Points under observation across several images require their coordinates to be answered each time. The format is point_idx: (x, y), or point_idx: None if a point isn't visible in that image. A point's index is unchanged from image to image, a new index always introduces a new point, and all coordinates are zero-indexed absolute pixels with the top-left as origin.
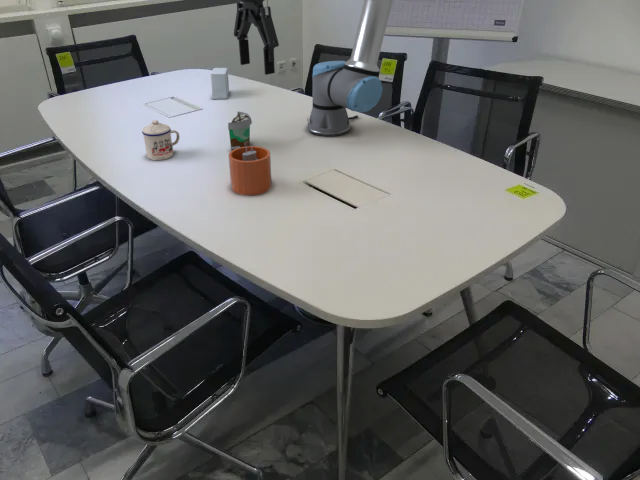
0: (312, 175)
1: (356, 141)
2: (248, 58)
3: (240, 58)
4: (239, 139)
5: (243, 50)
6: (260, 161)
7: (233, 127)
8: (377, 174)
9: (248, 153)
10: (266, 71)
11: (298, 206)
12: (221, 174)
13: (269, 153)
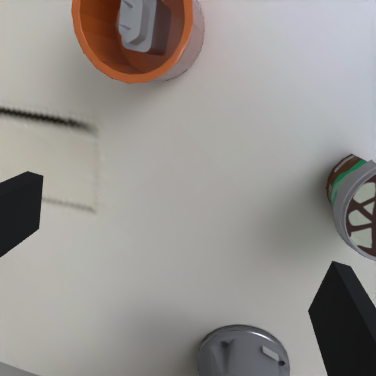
0: (105, 164)
1: (157, 334)
2: (319, 329)
3: (360, 291)
4: (339, 177)
5: (356, 353)
6: (73, 3)
7: (358, 172)
8: (30, 236)
9: (130, 12)
10: (15, 180)
11: (18, 31)
12: (267, 28)
13: (92, 61)
